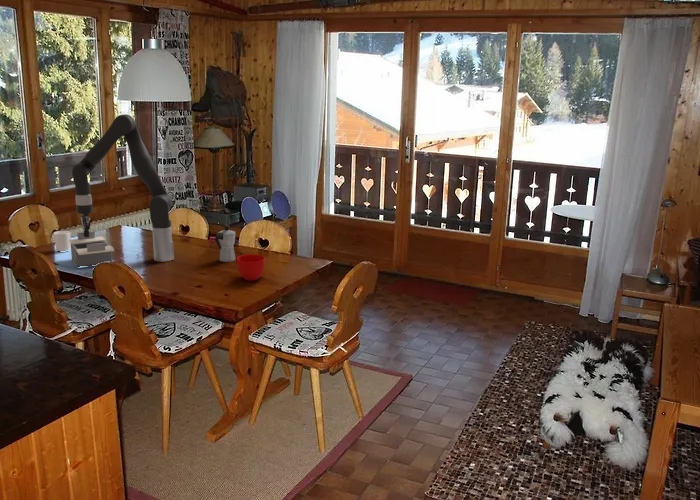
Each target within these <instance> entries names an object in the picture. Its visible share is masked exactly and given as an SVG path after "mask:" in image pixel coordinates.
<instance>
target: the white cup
mask: <svg viewBox="0 0 700 500" xmlns="http://www.w3.org/2000/svg"><path fill="white" fill-rule="evenodd" d="M53 238H54V245H55V250H57V251H66V250H69V249H70V250H71V244H70V242H69V240H70V239H71V231H69V230H58V231H54V232H53ZM57 251H56V252H57Z"/></svg>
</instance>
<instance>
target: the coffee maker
mask: <svg viewBox="0 0 700 500" xmlns="http://www.w3.org/2000/svg"><path fill="white" fill-rule="evenodd" d="M229 228H230V226H229V225H224V229H223V230H221V231H219V232H217V235H215V237H214V241H215V244H216V245H217V247H218V249H219V250H220V253H219V262H224V263H232V262H236V254H235V253H236V252H235V249H234V245H235V241H236V231H235V230H230V229H229Z"/></svg>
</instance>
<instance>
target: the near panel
mask: <svg viewBox="0 0 700 500" xmlns="http://www.w3.org/2000/svg"><path fill="white" fill-rule="evenodd" d="M76 251H77V253H78V254H79V255H83V254H92V253H101V252H110V251H111V252H115V248H114V247H113V246H112V245H109V246H105V243H104V242H103V243H94V244H87V248H84V249H76Z"/></svg>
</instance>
